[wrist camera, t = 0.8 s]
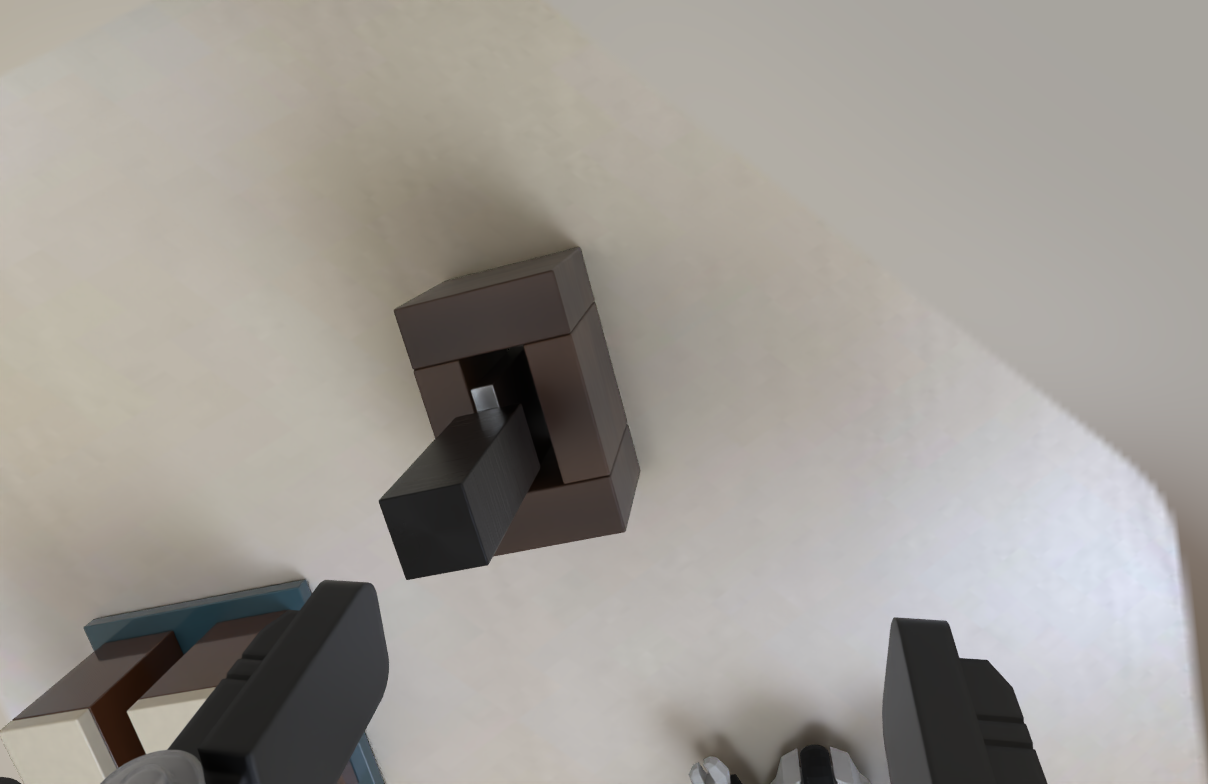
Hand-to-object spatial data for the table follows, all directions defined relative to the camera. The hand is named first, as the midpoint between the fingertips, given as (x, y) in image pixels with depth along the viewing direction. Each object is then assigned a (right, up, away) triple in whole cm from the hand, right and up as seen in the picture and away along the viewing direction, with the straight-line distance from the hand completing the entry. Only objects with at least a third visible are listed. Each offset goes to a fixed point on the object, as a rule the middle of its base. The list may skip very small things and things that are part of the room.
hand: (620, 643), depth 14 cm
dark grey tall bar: (-3, +5, +24) cm, 24 cm away
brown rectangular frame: (-3, +5, +24) cm, 24 cm away
